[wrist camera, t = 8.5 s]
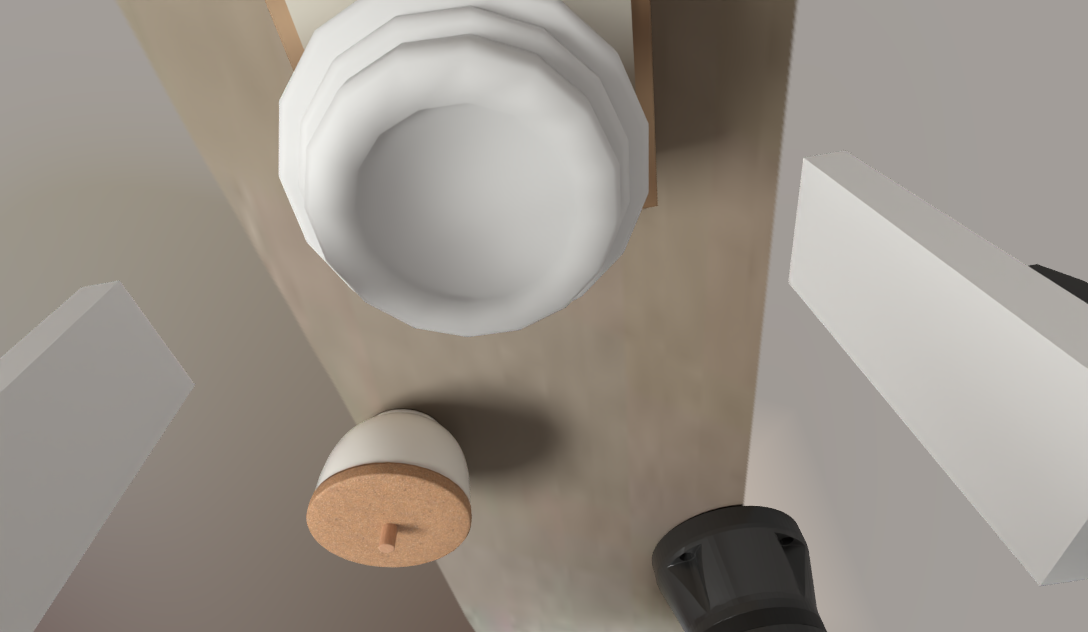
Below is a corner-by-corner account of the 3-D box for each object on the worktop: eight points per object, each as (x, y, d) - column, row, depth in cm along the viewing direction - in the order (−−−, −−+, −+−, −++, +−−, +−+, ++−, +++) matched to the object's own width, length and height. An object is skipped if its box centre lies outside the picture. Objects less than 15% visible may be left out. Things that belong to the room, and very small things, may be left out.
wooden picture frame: (631, 159, 31) (659, 208, 26) (388, 203, 31) (368, 260, 26) (611, -169, 22) (645, -191, 17) (278, -102, 23) (218, -105, 18)
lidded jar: (393, 494, 47) (375, 606, 40) (302, 423, 41) (259, 538, 34) (499, 447, 44) (501, 557, 37) (418, 364, 39) (401, 475, 31)
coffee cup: (345, -70, 19) (187, -47, 9) (608, -45, 20) (720, 0, 10) (372, 184, 24) (291, 368, 14) (578, 194, 25) (631, 372, 15)
